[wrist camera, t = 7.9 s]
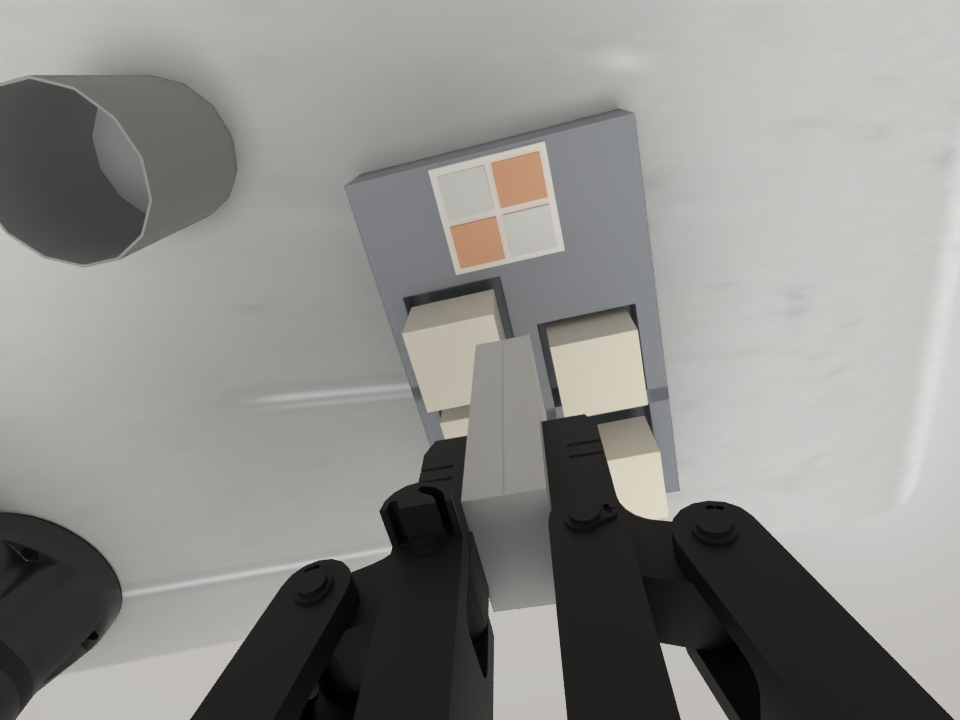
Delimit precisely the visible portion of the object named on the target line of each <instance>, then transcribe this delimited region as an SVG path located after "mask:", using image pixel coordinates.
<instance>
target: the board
mask: <svg viewBox="0 0 960 720" xmlns="http://www.w3.org/2000/svg"><path fill="white" fill-rule="evenodd" d="M344 187H345V190H346V193H347V196H348V199H349V202H350V205H351V208H352V211H353V214H354V217H355V220H356V223H357V226H358V229H359V232H360V235H361V238H362V241H363V244H364V247H365V250H366V253H367V256H368V259H369V262H370V266H371V269H372V272H373V275H374V278H375V281H376V284H377V287H378V290H379V293H380V296H381V299H382V302H383V305H384V308H385V311H386V314H387V317H388V320H389V323H390V326H391V329H392V332H393V335H394V338H395V341H396V344H397V347H398V350H399V353H400V356H401V359H402V362H403V365H404V368H405V371H406V374H407V377H408V380H409V383H410V386H411V389H412V392H413V395H414V398H415V401H416V404H417V407H418V410H419V413H420V416H421V420H422V423H423V426H424V429H425V432H426V435H427V438H428V441H429V444H430V447H431V446H432V445H433V443H434V442H435V441H439V440H444V439H445V438H444V435H443V432H442V429H441V426H440V419H441V413H442V410H439V411H434V412H429V413H427V410H426V407H425V404H424V401H423V398H422V394H421V391H420V388H419V385H418V382H417V379H416V376H415V373H414V370H413V367H412V364H411V361H410V357H409V354H408V351H407V348H406V345H405V342H404V339H403V336H402V332H403V329H404V327H405V324H406V321H407V318H408V316H409V313H410V310H411V308H412V307H415V306H420V305H424V304H429V303H433V302H438V301H442V300H447V299H451V298H456V297H460V296H465V295H469V294H474V293H478V292H483V291H487V290H492V289H494V293H495V297H496V301H497V305H498V309H499V313H500V317H501V321H502V326H503V330H504V334H505V338H506V339H510V338H516V337H521V336H526V335H530V339H531V343H532V348H533V353H534V358H535V363H536V368H537V373H538V378H539V383H540V388H541V393H542V398H543V403H544V408H545V412H546V417H547V420H553V419H558V418H564V413H563V408H562V403H561V398H560V394H559V389H558V384H557V379H556V374H555V370H554V365H553V360H552V355H551V351H550V346H549V341H548V336H547V331H546V326H545V323H546V322H551V321H555V320H560V319H565V318H569V317H574V316H579V315H584V314H588V313H593V312H598V311H602V310H607V309H612V308H616V307H621V306H625V308H626V309H627V311H628V313H629V315H630V317H631V318H632V320H633V322H634V324H635V326H636V327H637V329H638V335H639V343H640V350H641V357H642V364H643V372H644V379H645V386H646V393H647V401H648V405H645V406H640V407H635V408H629V409H624V410H619V411H614V412H608V413H603V414H598V415H593V416H588V417H589V418H590V419H591V420H592V421H593V422H595V423H596V424H597V425H598V424H603V423H608V422H613V421H619V420H624V419H629V418H635V417H640V416H645V418H646V420H647V423H648V425H649V427H650V429H651V432H652V434H653V436H654V439H655V441H656V443H657V445H658V448H659V450H660V454H661V462H662V469H663V477H664V484H665V492H666V493H669V492H675V491H680V488H679V480H678V472H677V463H676V455H675V447H674V438H673V430H672V422H671V413H670V405H669V397H668V388H667V380H666V372H665V363H664V355H663V347H662V338H661V330H660V321H659V313H658V305H657V296H656V288H655V280H654V271H653V263H652V255H651V246H650V238H649V230H648V221H647V213H646V205H645V196H644V188H643V180H642V171H641V163H640V155H639V146H638V138H637V130H636V121H635V113H633V112H629V111H626V110H622V109H618V110H614V111H610V112H606V113H602V114H598V115H594V116H590V117H586V118H582V119H579V120H575V121H571V122H567V123H563V124H559V125H555V126H551V127H547V128H543V129H539V130H535V131H531V132H527V133H523V134H520V135H516V136H512V137H508V138H504V139H500V140H496V141H492V142H488V143H484V144H480V145H476V146H472V147H468V148H464V149H461V150H457V151H453V152H449V153H445V154H441V155H437V156H433V157H429V158H425V159H421V160H417V161H413V162H409V163H405V164H402V165H398V166H394V167H390V168H386V169H382V170H378V171H374V172H370V173H366V174H362V175H359V176H358V177H356V178H355V179H353V180H352V181H351V182H349V183H348V184H347V185H345V186H344Z"/></svg>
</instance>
